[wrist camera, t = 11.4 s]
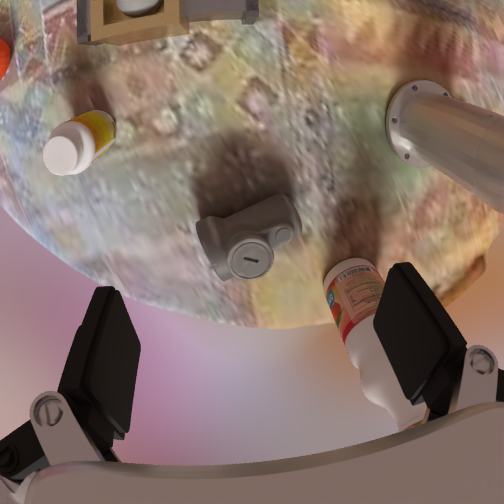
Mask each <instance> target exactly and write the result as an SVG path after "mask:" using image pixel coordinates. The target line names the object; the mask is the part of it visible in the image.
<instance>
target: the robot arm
mask: <svg viewBox="0 0 504 504" xmlns="http://www.w3.org/2000/svg"><path fill="white" fill-rule="evenodd" d="M386 131H387V137H388V140H389V142H390V145H391V147H392V149H393V150H394V152H395V153H396V154H397V155H398V157H399V158H401V159H402V160H403V161H405V162H406V163H408V164H410V165H412V166H415V167H422V168H425V167H430V166H433V167H434V168H436V169H438V170H439V171H441V172H442V173H444V174H445V175H447V176H448V177H450V178H451V179H453V180H454V181H455V182H457V183H458V184H460V185H461V186H463V187H464V188H465V189H467V190H468V191H469V192H471V193H472V194H474V195H475V196H476V197H478V198H479V199H480V200H482V201H483V202H484V203H486V204H487V205H488V206H490V207H491V208H492V209H494V210H495V211H497V212H500V213H502V214H504V116H503V115H500V114H498V113H495V112H492V111H490V110H487V109H484V108H481V107H479V106H476V105H473V104H470V103H467V102H464V101H461V100H457V99H454V98H452V97H451V95H450V94H449V92H448V91H447V90H446V89H445V88H444V87H442V86H441V85H439V84H438V83H435V82H432V81H429V80H414V81H410V82H408V83H406V84H405V85H403V86H402V87H401V88H400V89H399V90H398V91H397V92H396V93H395V95H394V96H393V98H392V100H391V102H390V104H389V107H388V110H387V116H386ZM373 327H374V330H375V332H376V334H377V336H378V338H379V340H380V343H381V345H382V347H383V349H384V351H385V353H386V355H387V358H388V360H389V362H390V364H391V366H392V369H393V371H394V373H395V375H396V377H397V380H398V382H399V384H400V387H401V389H402V391H403V394H404V396H405V398H406V399H407V400H410V402H411V404H412V406H414V405H417V404H420V403H423V402H425V403H426V405H427V408H426V412H425V415H424V418H423V421H422V424H421V425H418V426H415V427H413V428H410V429H407V430H404V431H401V432H398V433H395V434H392V435H389V436H385V437H382V438H379V439H375V440H372V441H368V442H365V443H361V444H357V445H353V446H349V447H345V448H341V449H336V450H331V451H327V452H322V453H317V454H312V455H306V456H300V457H294V458H287V459H280V460H272V461H264V462H254V463H244V464H231V465H229V464H228V465H205V466H179V465H149V464H147V465H146V464H133V463H122V462H121V460H120V459H119V458H118V456H117V455H116V453H115V452H114V450H113V449H112V446H113V439H117V440H124V436H125V433H128V432H129V429H130V421H131V413H132V403H133V397H134V390H135V383H136V376H137V369H138V363H139V357H140V351H141V345H140V341H139V339H138V336H137V334H136V331H135V329H134V327H133V324H132V322H131V320H130V317H129V314H128V312H127V309H126V307H125V304H124V301H123V299H122V296H121V293H120V291H119V290H115V288H114V287H113V286H103V287H97V288H96V289H95V291H94V294H93V296H92V299H91V301H90V304H89V306H88V309H87V311H86V314H85V317H84V320H83V322H82V325H81V326H79V328H78V329H77V332H76V334H75V337H74V340H73V343H72V346H71V349H70V352H69V355H68V358H67V361H66V364H65V367H64V370H63V373H62V377H61V380H60V383H59V387H58V390H57V392H54V391H47V392H44V393H42V394H40V395H39V396H38V397H36V398H35V400H34V401H33V403H32V405H31V408H30V420H29V421H27V422H26V423H24V424H23V425H22V426H20V427H19V428H17V429H16V430H14V431H13V432H12V433H10V434H9V435H8V436H6V437H5V438H4V439H2V440H0V504H504V370H501V369H499V368H498V362H497V359H496V357H495V355H494V354H493V352H492V351H490V350H489V349H488V348H486V347H484V346H481V345H474V346H472V347H470V348H469V349H467V348H466V344H467V342H466V341H465V339H464V337H463V336H462V334H461V333H460V331H459V329H458V328H457V326H456V325H455V323H454V322H453V320H452V319H451V318H450V316H449V315H448V313H447V312H446V310H445V309H444V307H443V306H442V304H441V303H440V302H439V300H438V299H437V297H436V296H435V294H434V293H433V292H432V290H431V289H430V288H429V286H428V285H427V284H426V282H425V281H424V279H423V278H422V277H421V275H420V274H419V273H418V272H417V270H416V269H415V268H414V266H413V265H412V264H411V263H410V262H403V263H396V264H394V265H393V267H392V268H390V270H389V272H388V276H387V279H386V282H385V285H384V289H383V292H382V295H381V298H380V301H379V304H378V307H377V310H376V313H375V316H374V319H373Z"/></svg>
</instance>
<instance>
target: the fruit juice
mask: <svg viewBox="0 0 504 504" xmlns="http://www.w3.org/2000/svg"><path fill="white" fill-rule="evenodd" d="M384 285H385V282H384V280H383V279H382V277H381V276H380V274H379V273H378V271H377V270H376V268H375V267H374V266H373V264H372V263H370V262H369V261H368V260H366V259H363V258H350V259H347V260H344V261H342V262H340V263H338V264H337V265H335V266H334V267H333V268H332V269H331V270H330V271H329V272H328V274H327V275H326V277H325V280H324V285H323V289H324V294H325V297H326V300H327V302H328V304H329V307H330V309H331V312H332V314H333V317H334V319H335V322H336V324H337V327H338V330H339V332H340V335H341V337H342V340H343V342H344V345H345V348H346V351H347V353H348V355H349V357H350V359H351V361H352V363H353V365H354V366H355V367H356V368H357V369H358V370H359V372H360V383H361V388H362V390H363V392H364V394H365V396H366V397H367V398H368V399H369V400H370V401H371V402H373V403H375V404H377V405H379V406H381V407H383V408H384V409H385V410H386V411H387V412H388V413H389V414H390V416H391V417H392V418H393V419H394V421H395V423H396V424H397V427H398V431H397V433H398V432H401V431H404V430H407V429H410V428H413V427H415V426H418V425H421V424H422V421H423V418H424V415H425V412H426V408H427V405H426V403H425V402H423V403H420V404H417V405H414V406H412V404H411V402H410V400H407V399H406V398H405V396H404V394H403V391H402V389H401V387H400V384H399V382H398V380H397V377H396V375H395V373H394V371H393V369H392V366H391V364H390V362H389V360H388V358H387V355H386V353H385V351H384V349H383V347H382V345H381V343H380V340H379V338H378V336H377V334H376V332H375V330H374V327H373V319H374V316H375V313H376V310H377V307H378V304H379V301H380V298H381V295H382V292H383V289H384Z"/></svg>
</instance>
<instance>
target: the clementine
mask: <svg viewBox="0 0 504 504" xmlns="http://www.w3.org/2000/svg"><path fill="white" fill-rule="evenodd" d="M9 63H10V49H9V46H8V44H7V43H6V42H5V41H4V40H2V39H0V79H1V78H2V77H3V76H4V75H5V73H6V71H7V69H8V66H9Z"/></svg>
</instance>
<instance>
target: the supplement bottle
mask: <svg viewBox="0 0 504 504" xmlns="http://www.w3.org/2000/svg"><path fill="white" fill-rule="evenodd" d="M115 137H116V125H115V122H114V120H113V119H112V117H111V116H110V115H109V114H108V113H106V112H104V111H101V110H92V111H89V112H86V113H84V114H82V115H79V116H77V117H75V118H73V119H71V120H69V121H66V122H64V123H62V124H61V125H59V126H58V127H56V128H55V129H54V131H53V132H52V134H51V135H50V138H49V140H48V142H47V143H46V145H45V147H44V150H43V159H44V163H45V165H46V167H47V168H48V169H49V171H51V172H52V173H54V174H56V175H66V174H77V173H80V172H82V171H84V170H85V169H86V168H87V167H89V166H90V165H91V164H92V163H93V162H94V161H95V160H96V159H97V158H99V157H100V156H101V155H102V154H103V153H104V152H105V151H106V150H108V149H109V148H110V147H111V145H112V144H113V142H114V140H115Z"/></svg>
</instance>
